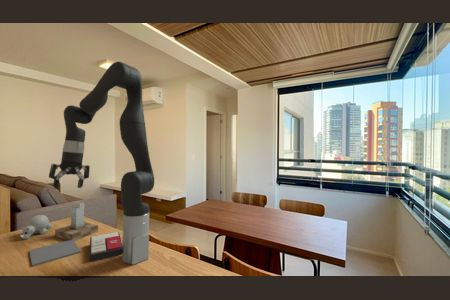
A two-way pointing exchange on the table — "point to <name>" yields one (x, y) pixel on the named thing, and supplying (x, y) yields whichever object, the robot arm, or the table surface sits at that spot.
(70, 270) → the table surface
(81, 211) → the t key
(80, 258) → the table surface
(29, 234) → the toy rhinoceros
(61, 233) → the block
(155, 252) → the table surface
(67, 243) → the mat
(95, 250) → the calculator
